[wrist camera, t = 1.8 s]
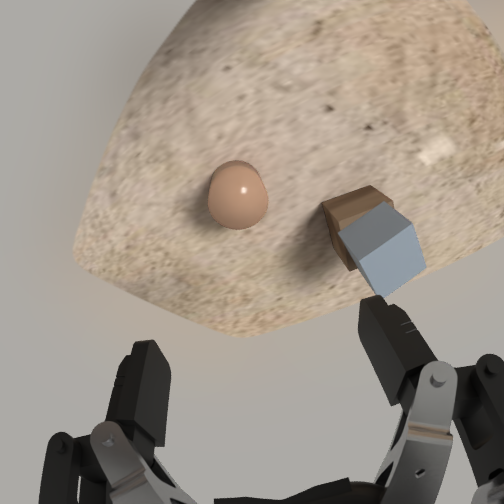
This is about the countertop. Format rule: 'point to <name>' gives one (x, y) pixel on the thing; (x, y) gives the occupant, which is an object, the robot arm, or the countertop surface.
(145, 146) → the countertop surface
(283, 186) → the countertop surface
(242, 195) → the tan rounded cylinder
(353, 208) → the tower base
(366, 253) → the tower top
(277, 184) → the countertop surface
